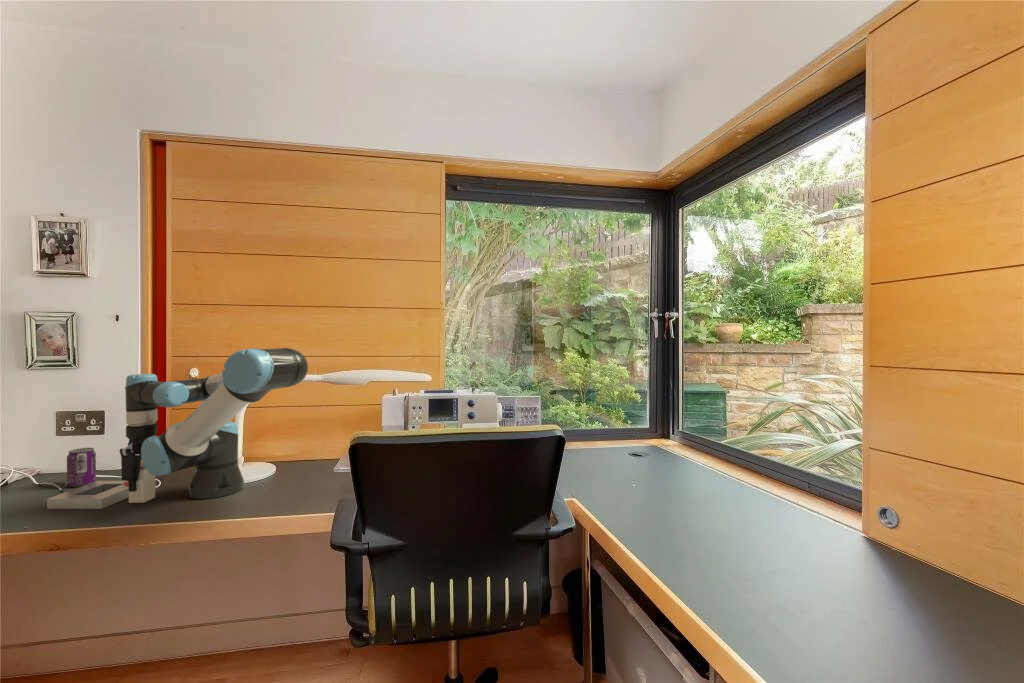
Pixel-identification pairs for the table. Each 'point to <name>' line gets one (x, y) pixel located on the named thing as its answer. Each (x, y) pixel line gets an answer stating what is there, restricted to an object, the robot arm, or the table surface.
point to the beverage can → (81, 467)
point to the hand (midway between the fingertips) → (142, 497)
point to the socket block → (91, 496)
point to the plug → (145, 485)
